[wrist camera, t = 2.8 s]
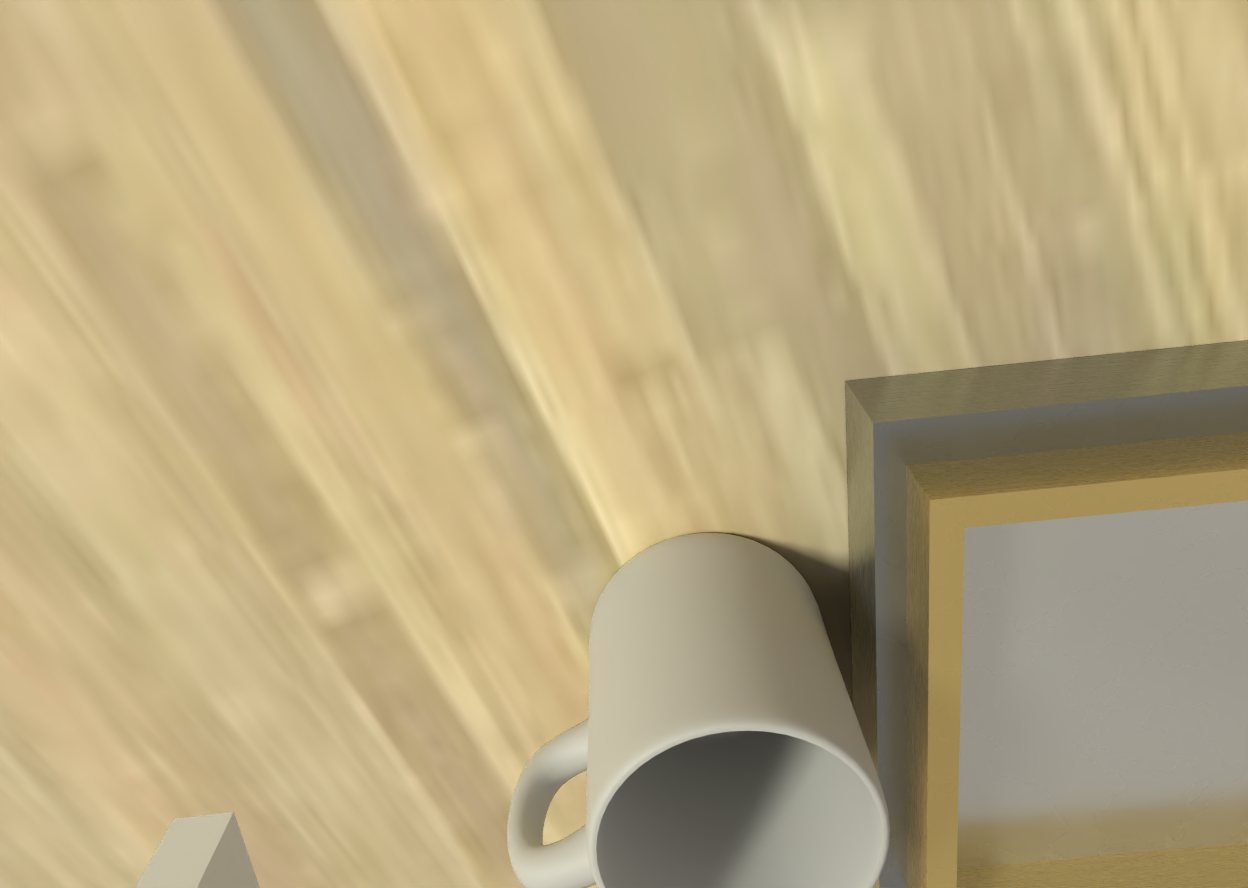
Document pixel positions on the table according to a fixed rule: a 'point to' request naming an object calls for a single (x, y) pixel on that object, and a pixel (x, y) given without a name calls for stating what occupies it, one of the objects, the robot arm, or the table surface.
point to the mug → (708, 737)
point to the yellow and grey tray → (1055, 618)
